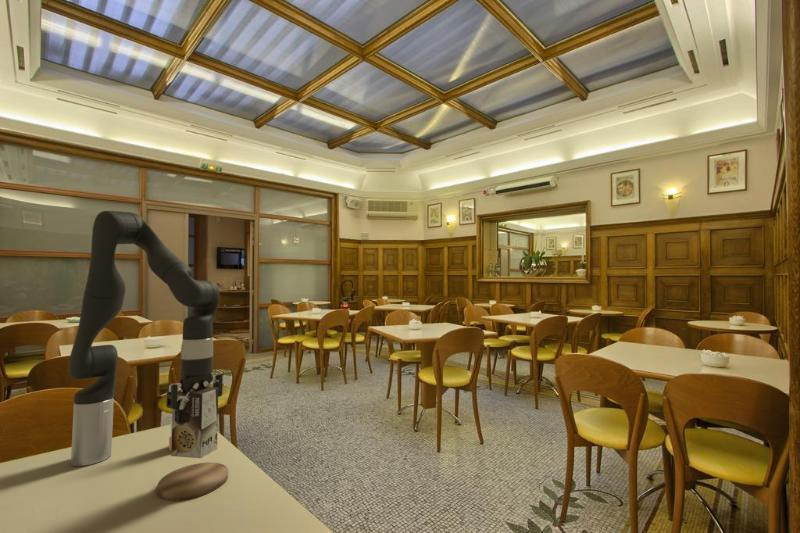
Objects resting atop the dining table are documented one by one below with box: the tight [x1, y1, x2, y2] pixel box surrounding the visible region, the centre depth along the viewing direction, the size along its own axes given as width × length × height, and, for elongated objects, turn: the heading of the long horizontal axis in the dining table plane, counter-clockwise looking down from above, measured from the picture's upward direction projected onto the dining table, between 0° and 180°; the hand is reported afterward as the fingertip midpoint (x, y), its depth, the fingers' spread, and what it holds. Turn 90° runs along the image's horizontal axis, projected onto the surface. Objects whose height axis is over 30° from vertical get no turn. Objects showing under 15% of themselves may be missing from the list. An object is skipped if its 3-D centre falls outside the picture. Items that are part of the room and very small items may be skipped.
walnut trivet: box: [156, 462, 229, 501], centre depth 95 cm, size 16×16×2 cm
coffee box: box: [170, 386, 219, 459], centre depth 96 cm, size 9×6×16 cm
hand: (195, 419), depth 96 cm, fingers closed on coffee box, 7 cm apart
